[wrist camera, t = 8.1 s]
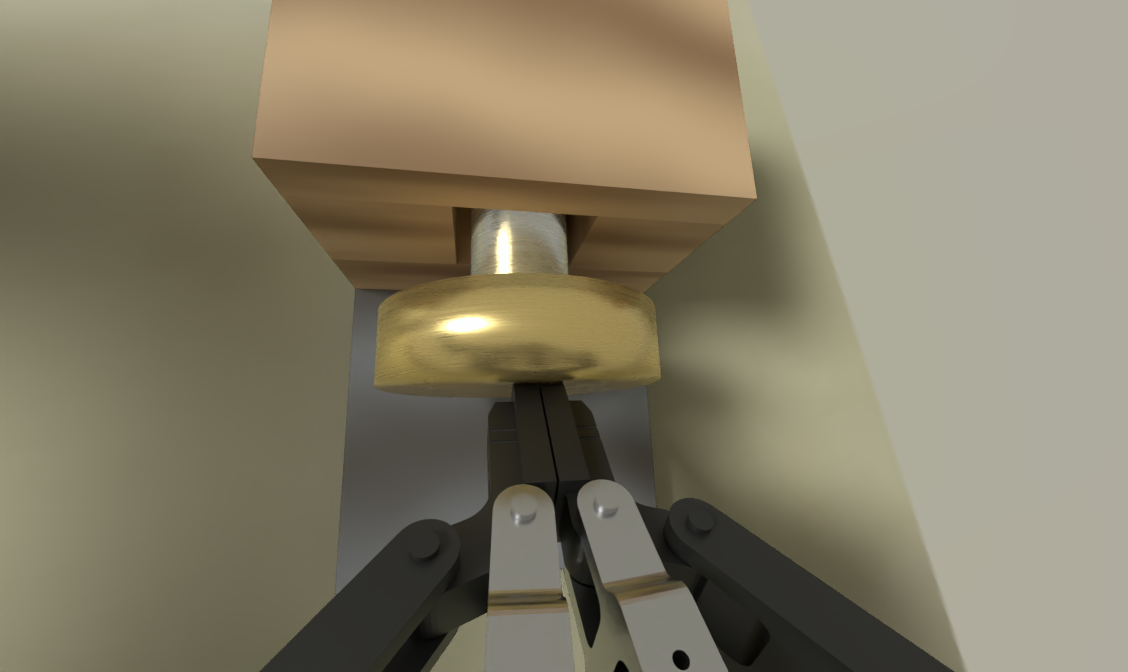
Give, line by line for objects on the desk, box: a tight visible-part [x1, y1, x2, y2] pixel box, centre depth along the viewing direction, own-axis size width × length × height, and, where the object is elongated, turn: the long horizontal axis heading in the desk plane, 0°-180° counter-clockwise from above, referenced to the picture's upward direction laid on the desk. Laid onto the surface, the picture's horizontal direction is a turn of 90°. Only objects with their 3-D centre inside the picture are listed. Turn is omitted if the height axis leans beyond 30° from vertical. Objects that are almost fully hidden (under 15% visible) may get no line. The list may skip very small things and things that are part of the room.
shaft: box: [374, 208, 661, 398], centre depth 14 cm, size 16×8×8 cm, turn 2°
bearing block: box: [252, 0, 757, 594], centre depth 15 cm, size 21×12×10 cm, turn 2°
